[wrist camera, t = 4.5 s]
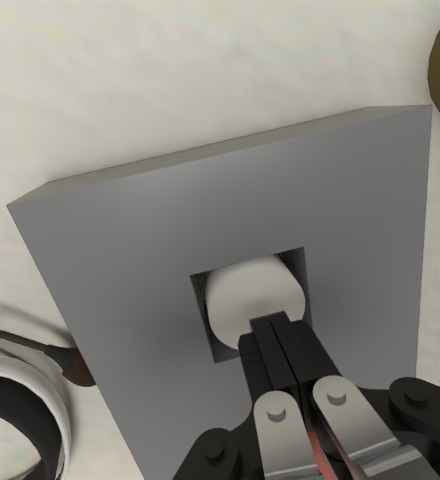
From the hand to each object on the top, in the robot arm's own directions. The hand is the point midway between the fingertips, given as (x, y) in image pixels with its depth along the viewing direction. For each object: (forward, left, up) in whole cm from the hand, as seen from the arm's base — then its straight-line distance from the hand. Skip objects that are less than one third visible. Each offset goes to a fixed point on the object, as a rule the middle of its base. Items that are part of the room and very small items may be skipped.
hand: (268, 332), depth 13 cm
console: (0, +5, -5) cm, 7 cm away
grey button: (0, 0, -5) cm, 5 cm away
